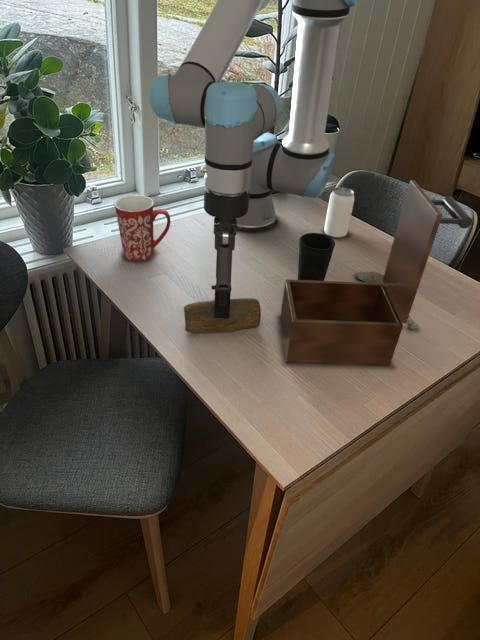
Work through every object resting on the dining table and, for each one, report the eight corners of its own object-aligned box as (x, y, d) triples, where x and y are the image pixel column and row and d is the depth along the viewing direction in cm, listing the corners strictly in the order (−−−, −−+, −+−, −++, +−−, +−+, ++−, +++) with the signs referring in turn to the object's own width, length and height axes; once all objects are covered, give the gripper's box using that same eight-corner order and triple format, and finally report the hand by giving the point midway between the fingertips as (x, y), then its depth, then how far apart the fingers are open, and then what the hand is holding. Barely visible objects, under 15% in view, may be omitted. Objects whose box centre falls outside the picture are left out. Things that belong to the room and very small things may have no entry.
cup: (324, 299, 106) (334, 252, 99) (290, 294, 107) (297, 246, 99) (326, 281, 112) (335, 235, 105) (294, 276, 113) (301, 230, 105)
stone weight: (252, 314, 100) (255, 287, 96) (261, 335, 95) (264, 308, 91) (181, 321, 97) (181, 294, 93) (186, 343, 91) (186, 315, 87)
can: (323, 226, 135) (330, 185, 127) (346, 228, 134) (355, 188, 127) (323, 236, 130) (331, 195, 122) (347, 239, 129) (356, 197, 122)
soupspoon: (376, 275, 116) (351, 279, 115) (378, 263, 114) (353, 267, 113) (427, 327, 99) (399, 333, 98) (431, 314, 97) (402, 319, 96)
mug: (116, 263, 113) (110, 210, 105) (122, 244, 120) (117, 193, 112) (169, 264, 114) (167, 212, 106) (173, 246, 121) (171, 195, 113)
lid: (437, 214, 71) (485, 216, 71) (410, 179, 81) (451, 181, 82) (401, 323, 83) (442, 324, 84) (382, 281, 94) (418, 282, 94)
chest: (286, 363, 89) (292, 321, 83) (279, 318, 99) (285, 279, 93) (389, 366, 89) (403, 325, 83) (372, 321, 100) (383, 283, 94)
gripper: (206, 161, 88) (205, 261, 100) (200, 220, 68) (199, 336, 80) (247, 163, 88) (240, 263, 101) (252, 223, 68) (243, 337, 81)
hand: (222, 296), depth 91 cm, fingers open, 13 cm apart
